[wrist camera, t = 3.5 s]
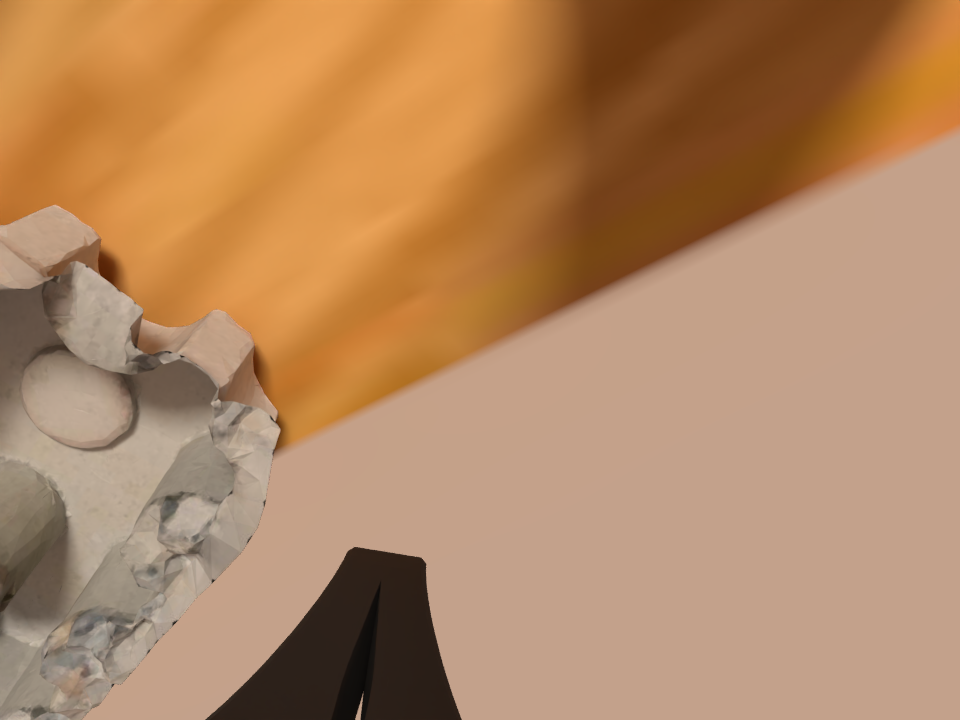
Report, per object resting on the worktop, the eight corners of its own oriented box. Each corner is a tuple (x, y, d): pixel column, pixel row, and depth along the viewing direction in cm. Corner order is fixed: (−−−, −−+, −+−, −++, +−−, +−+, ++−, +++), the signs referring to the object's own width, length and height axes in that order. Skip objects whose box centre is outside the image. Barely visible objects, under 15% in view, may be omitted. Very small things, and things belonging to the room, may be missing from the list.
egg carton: (3, 138, 13) (-178, 182, 9) (345, 385, 15) (310, 501, 11) (-226, 516, 16) (-431, 665, 12) (86, 675, 18) (-7, 841, 15)
